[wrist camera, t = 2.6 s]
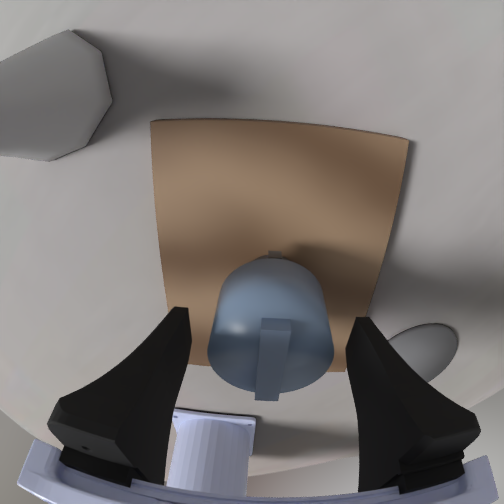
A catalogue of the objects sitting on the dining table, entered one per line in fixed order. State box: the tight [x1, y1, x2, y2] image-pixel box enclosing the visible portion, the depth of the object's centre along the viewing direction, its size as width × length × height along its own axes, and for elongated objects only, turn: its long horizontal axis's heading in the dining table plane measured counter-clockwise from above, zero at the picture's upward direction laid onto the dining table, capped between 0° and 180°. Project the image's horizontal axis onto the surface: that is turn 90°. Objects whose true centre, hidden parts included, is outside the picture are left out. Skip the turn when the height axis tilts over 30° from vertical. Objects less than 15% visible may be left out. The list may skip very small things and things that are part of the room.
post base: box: [150, 118, 409, 372], centre depth 16 cm, size 16×12×3 cm
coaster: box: [388, 324, 457, 383], centre depth 21 cm, size 8×8×1 cm
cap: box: [207, 258, 334, 401], centre depth 13 cm, size 5×5×4 cm
